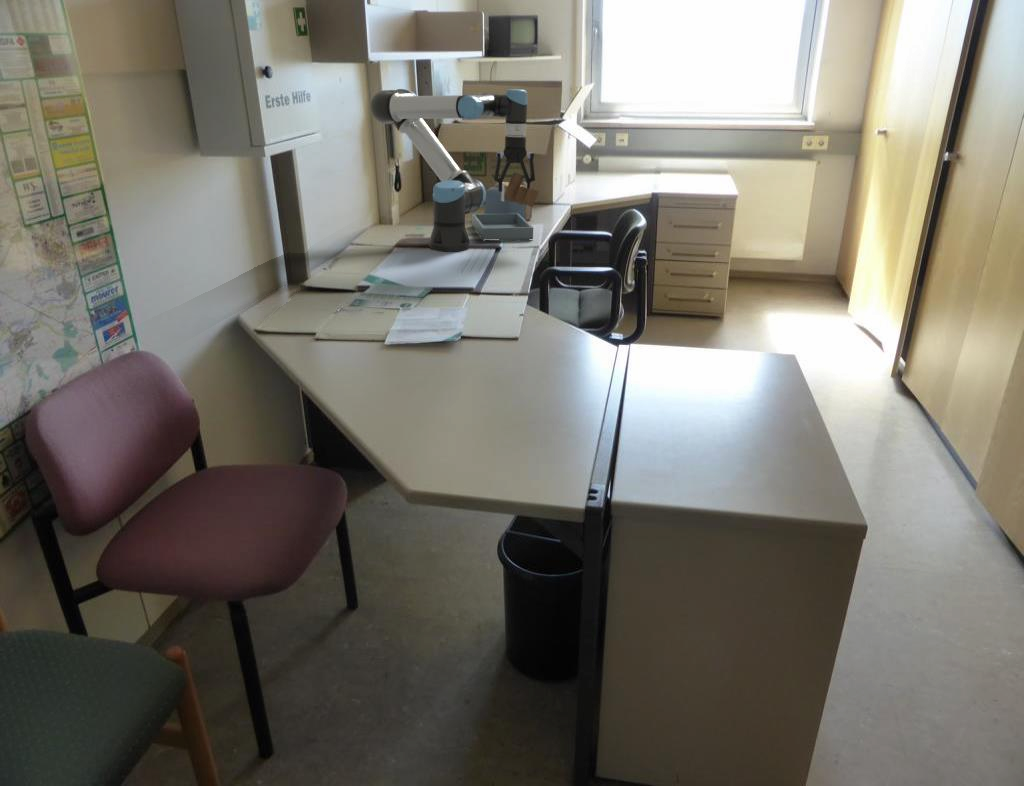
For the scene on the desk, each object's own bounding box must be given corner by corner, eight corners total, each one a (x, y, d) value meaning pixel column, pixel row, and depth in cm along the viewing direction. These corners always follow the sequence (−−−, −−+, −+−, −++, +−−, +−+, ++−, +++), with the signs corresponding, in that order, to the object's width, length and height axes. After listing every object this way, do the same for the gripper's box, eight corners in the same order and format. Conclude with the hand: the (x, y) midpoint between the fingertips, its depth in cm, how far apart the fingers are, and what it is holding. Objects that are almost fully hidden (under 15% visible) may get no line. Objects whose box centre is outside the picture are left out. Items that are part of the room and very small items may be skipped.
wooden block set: (534, 213, 266) (546, 186, 263) (515, 205, 261) (527, 177, 258) (514, 202, 280) (525, 177, 277) (495, 194, 276) (506, 168, 273)
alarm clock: (533, 220, 323) (535, 183, 317) (506, 224, 313) (507, 186, 307) (509, 214, 334) (510, 178, 328) (481, 218, 324) (482, 181, 317)
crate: (482, 241, 284) (482, 228, 282) (472, 225, 309) (472, 214, 307) (532, 240, 288) (533, 227, 286) (518, 225, 313) (518, 213, 310)
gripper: (488, 136, 256) (487, 202, 266) (545, 137, 259) (542, 202, 269) (485, 134, 263) (484, 198, 272) (541, 135, 266) (538, 198, 275)
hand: (513, 200), depth 270 cm, fingers closed on wooden block set, 8 cm apart
